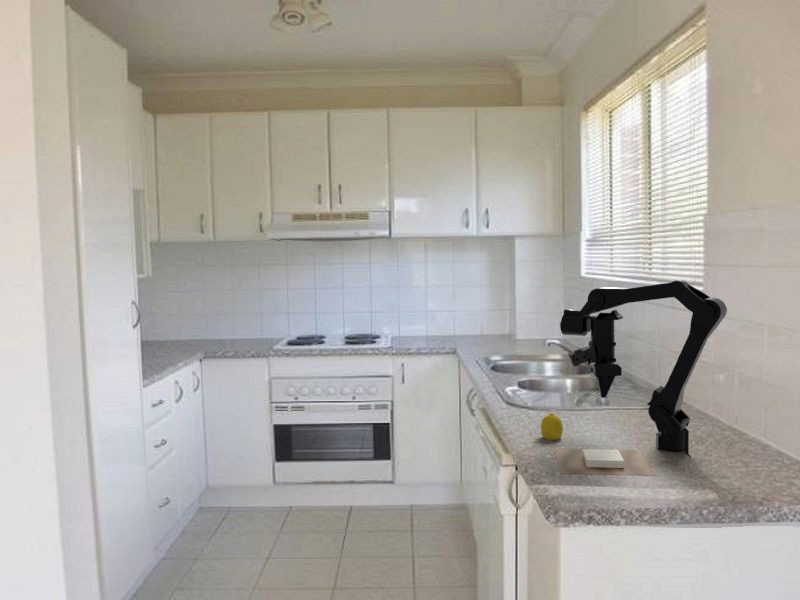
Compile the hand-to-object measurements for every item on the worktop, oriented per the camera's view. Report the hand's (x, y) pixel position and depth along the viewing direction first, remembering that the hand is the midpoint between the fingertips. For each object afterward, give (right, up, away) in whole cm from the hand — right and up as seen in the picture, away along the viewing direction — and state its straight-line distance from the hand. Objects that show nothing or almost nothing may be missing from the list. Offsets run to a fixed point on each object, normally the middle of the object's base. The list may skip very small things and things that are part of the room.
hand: (603, 397), depth 162 cm
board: (-6, -13, -17) cm, 23 cm away
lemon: (-13, -13, +2) cm, 18 cm away
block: (-5, -11, -14) cm, 19 cm away
